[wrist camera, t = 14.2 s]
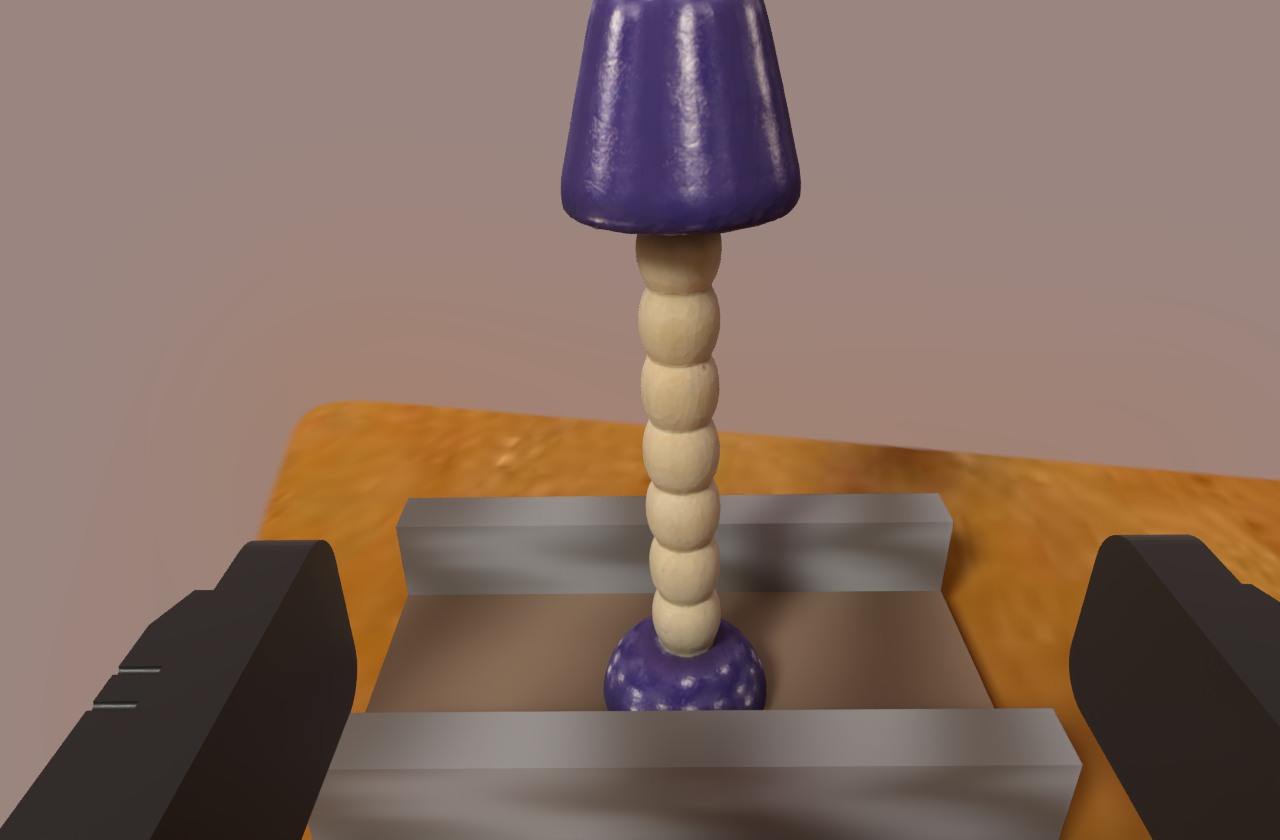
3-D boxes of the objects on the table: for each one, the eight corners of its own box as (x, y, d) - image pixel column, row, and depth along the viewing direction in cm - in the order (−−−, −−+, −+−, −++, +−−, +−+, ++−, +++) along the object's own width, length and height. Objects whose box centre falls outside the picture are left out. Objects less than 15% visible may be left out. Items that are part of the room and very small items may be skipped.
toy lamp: (553, 703, 23) (492, -20, 15) (648, 602, 26) (640, -29, 18) (718, 785, 20) (750, -18, 13) (799, 662, 24) (864, -28, 16)
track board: (913, 565, 29) (928, 475, 27) (1066, 919, 19) (1105, 807, 17) (430, 570, 29) (416, 480, 28) (309, 922, 19) (274, 811, 17)
